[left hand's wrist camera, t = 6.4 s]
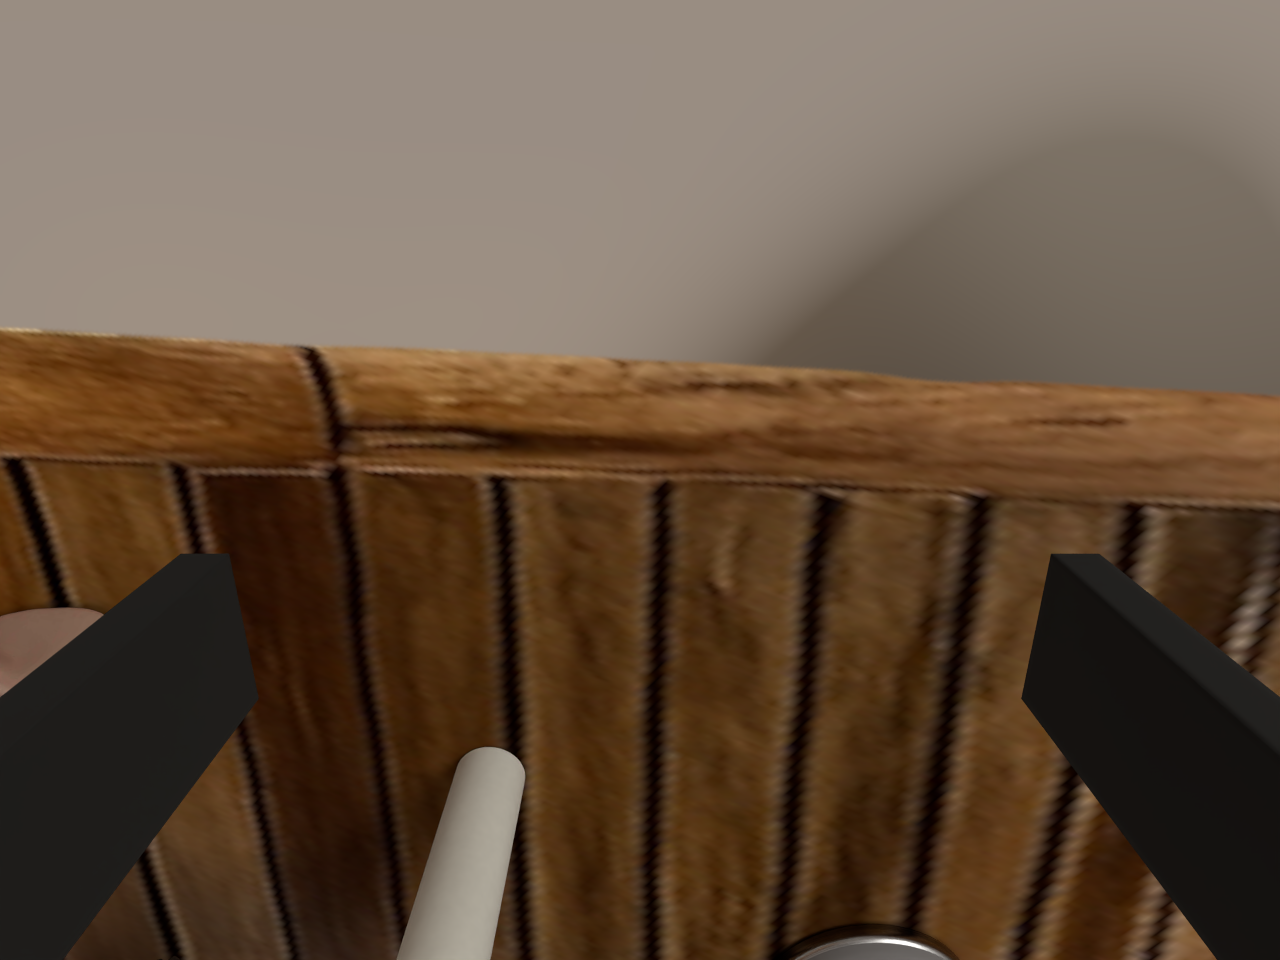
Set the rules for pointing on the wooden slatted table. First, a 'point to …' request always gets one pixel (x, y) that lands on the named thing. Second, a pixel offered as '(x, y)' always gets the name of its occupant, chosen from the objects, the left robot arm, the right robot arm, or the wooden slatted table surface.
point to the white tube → (467, 861)
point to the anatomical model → (37, 639)
